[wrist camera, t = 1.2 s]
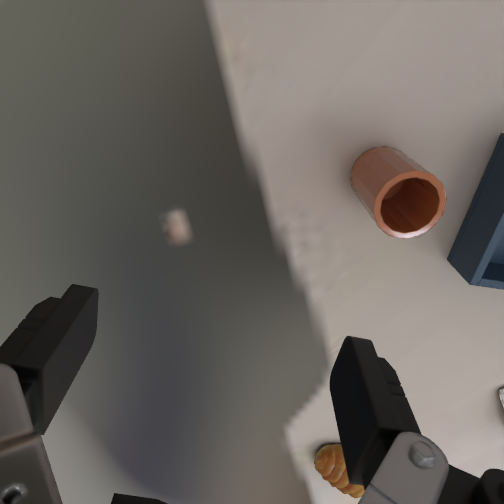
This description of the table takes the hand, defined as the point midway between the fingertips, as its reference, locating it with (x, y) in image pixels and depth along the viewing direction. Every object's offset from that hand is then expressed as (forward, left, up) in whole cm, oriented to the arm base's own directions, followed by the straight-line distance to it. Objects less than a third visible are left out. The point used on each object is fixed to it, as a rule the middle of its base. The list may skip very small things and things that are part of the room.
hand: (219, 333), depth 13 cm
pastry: (+23, +37, -26) cm, 51 cm away
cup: (-6, +11, -26) cm, 29 cm away
